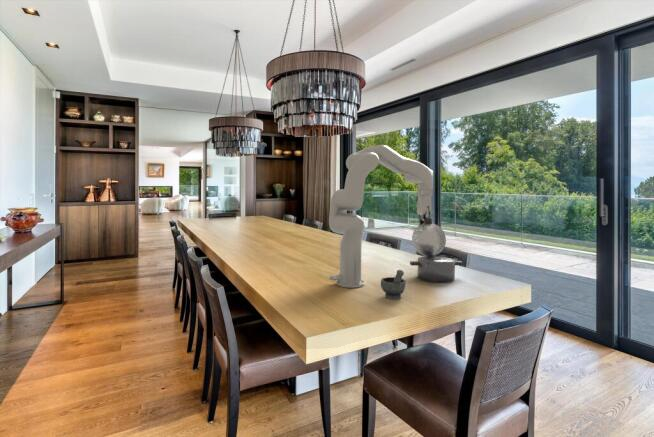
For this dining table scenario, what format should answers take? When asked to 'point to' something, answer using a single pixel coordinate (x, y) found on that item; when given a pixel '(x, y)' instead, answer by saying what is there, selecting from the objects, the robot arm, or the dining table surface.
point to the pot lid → (428, 238)
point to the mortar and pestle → (393, 286)
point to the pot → (436, 269)
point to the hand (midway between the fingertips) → (424, 227)
